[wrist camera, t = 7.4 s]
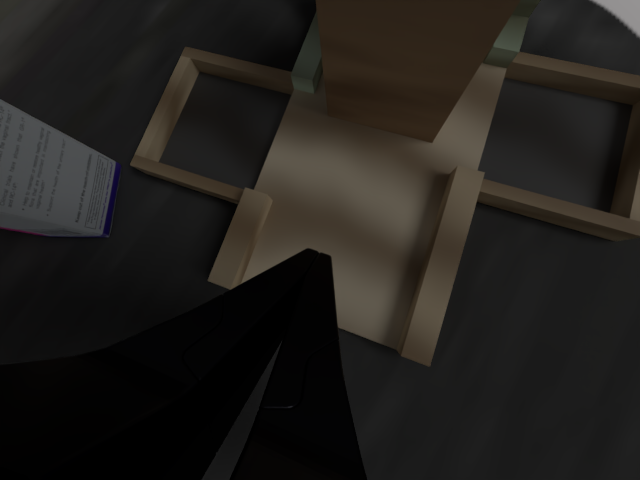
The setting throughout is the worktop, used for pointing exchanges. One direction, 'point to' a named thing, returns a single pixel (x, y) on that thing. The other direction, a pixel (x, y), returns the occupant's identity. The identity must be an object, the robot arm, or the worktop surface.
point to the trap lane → (396, 172)
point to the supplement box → (52, 180)
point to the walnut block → (404, 58)
